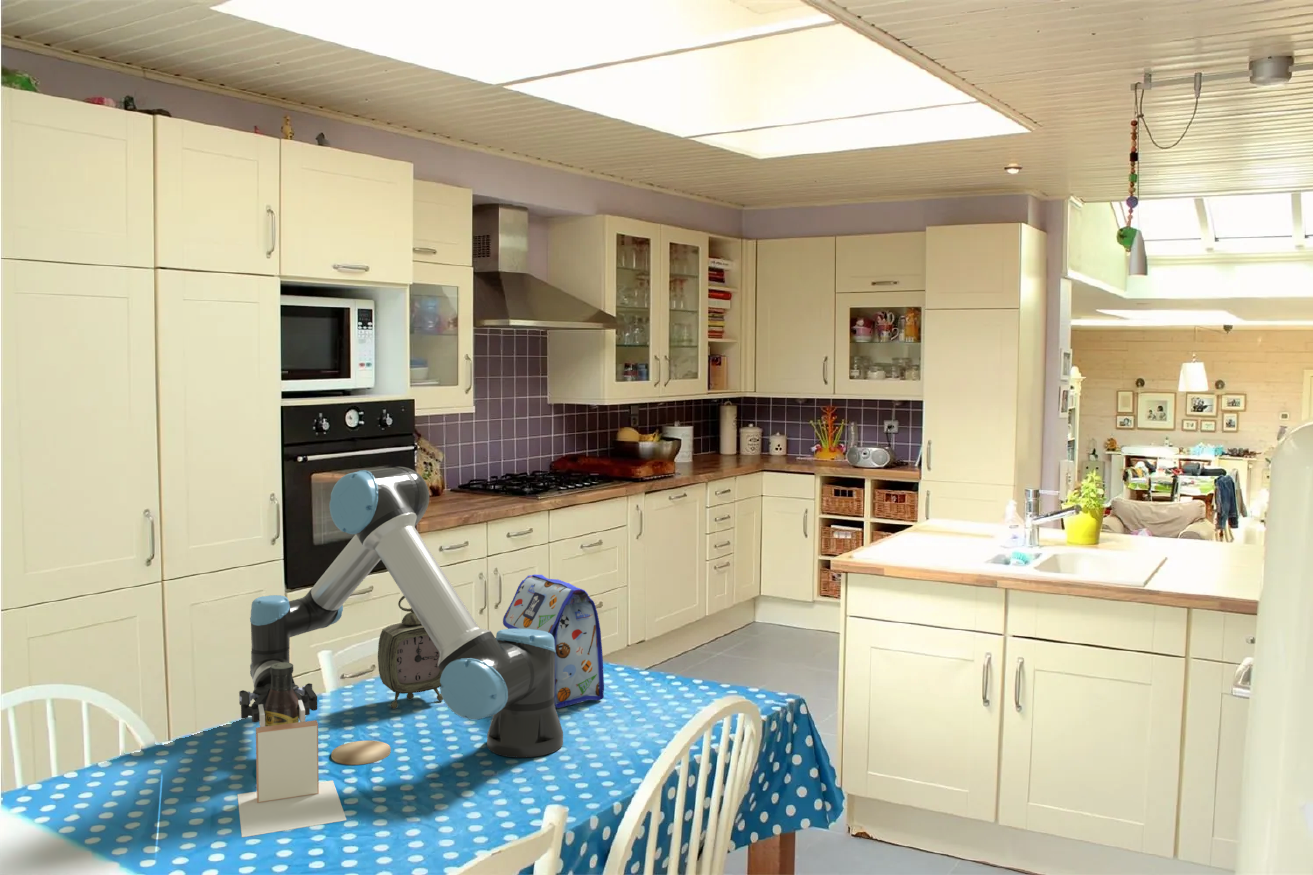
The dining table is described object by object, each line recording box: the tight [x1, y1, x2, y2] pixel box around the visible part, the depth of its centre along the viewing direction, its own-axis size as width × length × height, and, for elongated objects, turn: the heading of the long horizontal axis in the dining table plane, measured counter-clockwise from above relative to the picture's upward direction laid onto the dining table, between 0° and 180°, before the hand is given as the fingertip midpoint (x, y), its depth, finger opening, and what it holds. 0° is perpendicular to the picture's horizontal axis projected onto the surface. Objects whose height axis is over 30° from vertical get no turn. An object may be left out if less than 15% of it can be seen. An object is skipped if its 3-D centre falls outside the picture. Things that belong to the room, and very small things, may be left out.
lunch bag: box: [502, 574, 605, 709], centre depth 237 cm, size 23×17×27 cm
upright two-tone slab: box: [255, 719, 320, 803], centre depth 178 cm, size 2×10×12 cm, turn 114°
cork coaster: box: [331, 740, 392, 766], centre depth 198 cm, size 11×11×1 cm
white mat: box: [237, 780, 347, 838], centre depth 174 cm, size 18×16×1 cm
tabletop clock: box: [377, 595, 444, 710], centre depth 230 cm, size 14×9×25 cm, turn 123°
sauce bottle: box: [264, 662, 300, 726], centre depth 190 cm, size 6×6×20 cm
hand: (283, 719), depth 186 cm, fingers closed on sauce bottle, 6 cm apart
